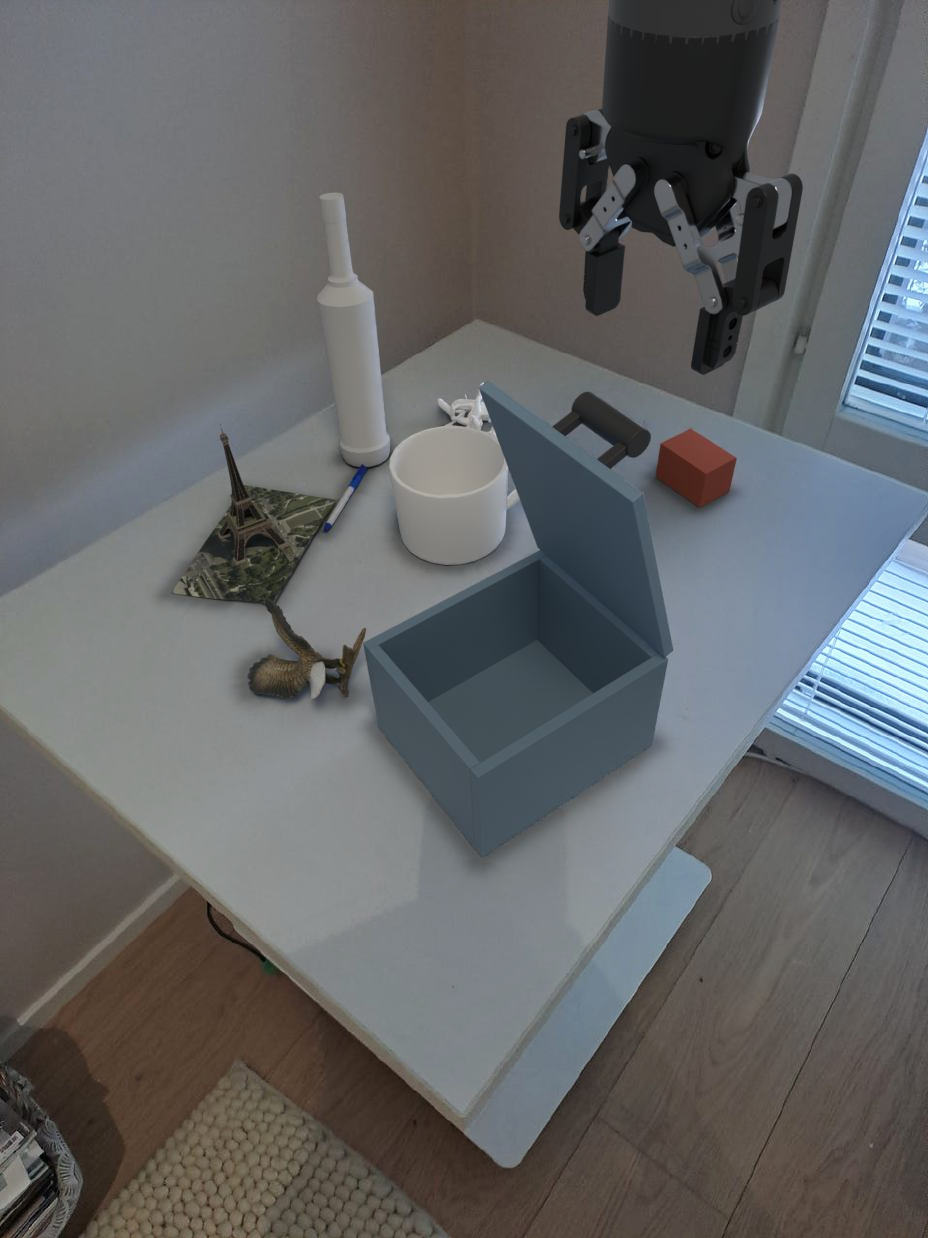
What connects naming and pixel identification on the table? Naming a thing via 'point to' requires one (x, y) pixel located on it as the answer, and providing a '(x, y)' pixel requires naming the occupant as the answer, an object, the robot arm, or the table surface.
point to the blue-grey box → (514, 697)
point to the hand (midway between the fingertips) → (652, 337)
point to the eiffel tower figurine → (253, 542)
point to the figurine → (475, 412)
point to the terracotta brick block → (695, 467)
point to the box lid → (586, 505)
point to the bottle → (351, 346)
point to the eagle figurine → (299, 664)
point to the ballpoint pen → (345, 497)
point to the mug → (451, 494)
